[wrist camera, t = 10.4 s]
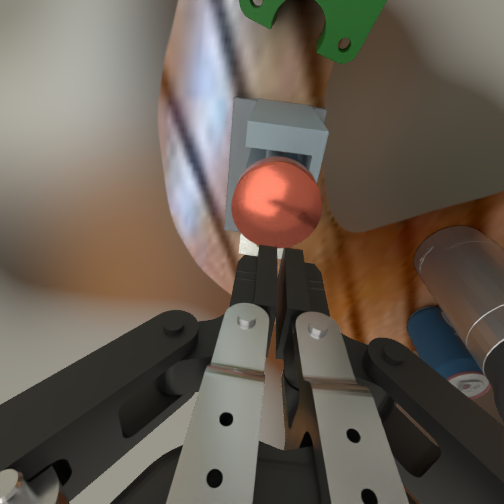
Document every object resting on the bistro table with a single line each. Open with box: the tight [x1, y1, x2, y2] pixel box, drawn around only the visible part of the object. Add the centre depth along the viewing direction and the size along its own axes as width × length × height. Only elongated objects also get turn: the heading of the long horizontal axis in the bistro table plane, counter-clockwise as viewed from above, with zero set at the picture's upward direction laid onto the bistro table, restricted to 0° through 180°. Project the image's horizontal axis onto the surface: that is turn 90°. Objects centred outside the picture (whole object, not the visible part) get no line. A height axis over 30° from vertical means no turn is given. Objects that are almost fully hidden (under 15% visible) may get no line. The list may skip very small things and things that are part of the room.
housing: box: [239, 234, 283, 259], centre depth 37 cm, size 5×5×7 cm
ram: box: [231, 150, 322, 248], centre depth 23 cm, size 5×5×14 cm
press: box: [224, 97, 329, 232], centre depth 32 cm, size 10×16×14 cm, turn 173°
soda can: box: [407, 306, 491, 400], centre depth 44 cm, size 7×7×12 cm
